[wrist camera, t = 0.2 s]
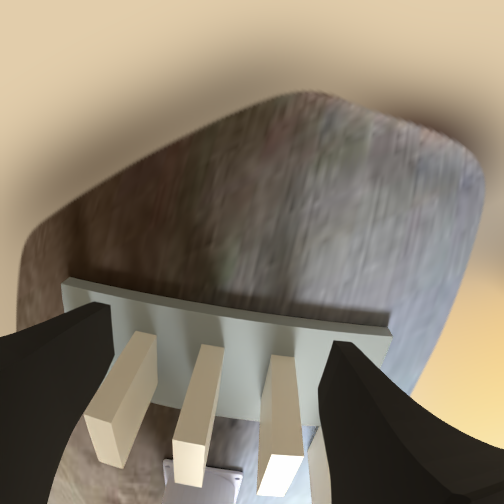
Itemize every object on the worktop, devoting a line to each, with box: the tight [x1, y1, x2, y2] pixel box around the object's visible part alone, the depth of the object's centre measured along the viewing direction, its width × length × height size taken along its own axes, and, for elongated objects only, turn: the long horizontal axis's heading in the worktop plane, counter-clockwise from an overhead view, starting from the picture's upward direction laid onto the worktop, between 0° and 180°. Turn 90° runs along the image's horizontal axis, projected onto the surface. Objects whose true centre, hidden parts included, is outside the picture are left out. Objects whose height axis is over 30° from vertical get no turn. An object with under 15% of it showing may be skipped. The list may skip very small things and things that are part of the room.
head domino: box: [307, 426, 331, 504], centre depth 21 cm, size 4×2×8 cm, turn 172°
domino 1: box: [84, 331, 158, 469], centre depth 17 cm, size 4×2×8 cm, turn 172°
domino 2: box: [172, 344, 225, 488], centre depth 17 cm, size 4×2×8 cm, turn 172°
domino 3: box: [257, 355, 304, 497], centre depth 17 cm, size 4×2×8 cm, turn 172°
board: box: [61, 277, 393, 426], centre depth 21 cm, size 9×22×1 cm, turn 82°
